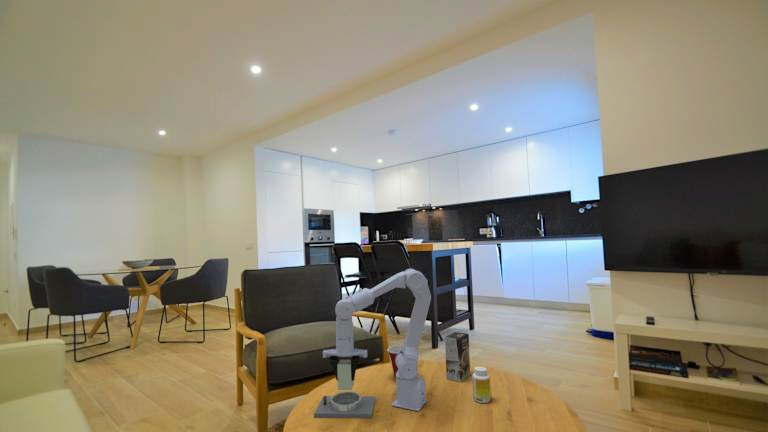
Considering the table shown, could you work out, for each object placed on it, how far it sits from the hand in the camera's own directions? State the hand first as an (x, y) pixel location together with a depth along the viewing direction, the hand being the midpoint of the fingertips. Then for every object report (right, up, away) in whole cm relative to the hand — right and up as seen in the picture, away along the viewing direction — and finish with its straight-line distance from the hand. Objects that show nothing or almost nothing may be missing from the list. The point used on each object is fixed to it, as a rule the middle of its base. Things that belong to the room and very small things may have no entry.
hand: (345, 379), depth 114 cm
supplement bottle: (+45, -8, +3) cm, 46 cm away
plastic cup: (+19, -10, +22) cm, 31 cm away
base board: (0, -9, -1) cm, 9 cm away
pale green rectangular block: (0, -3, 0) cm, 3 cm away
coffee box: (+42, -10, +22) cm, 48 cm away
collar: (-1, -8, 0) cm, 8 cm away
